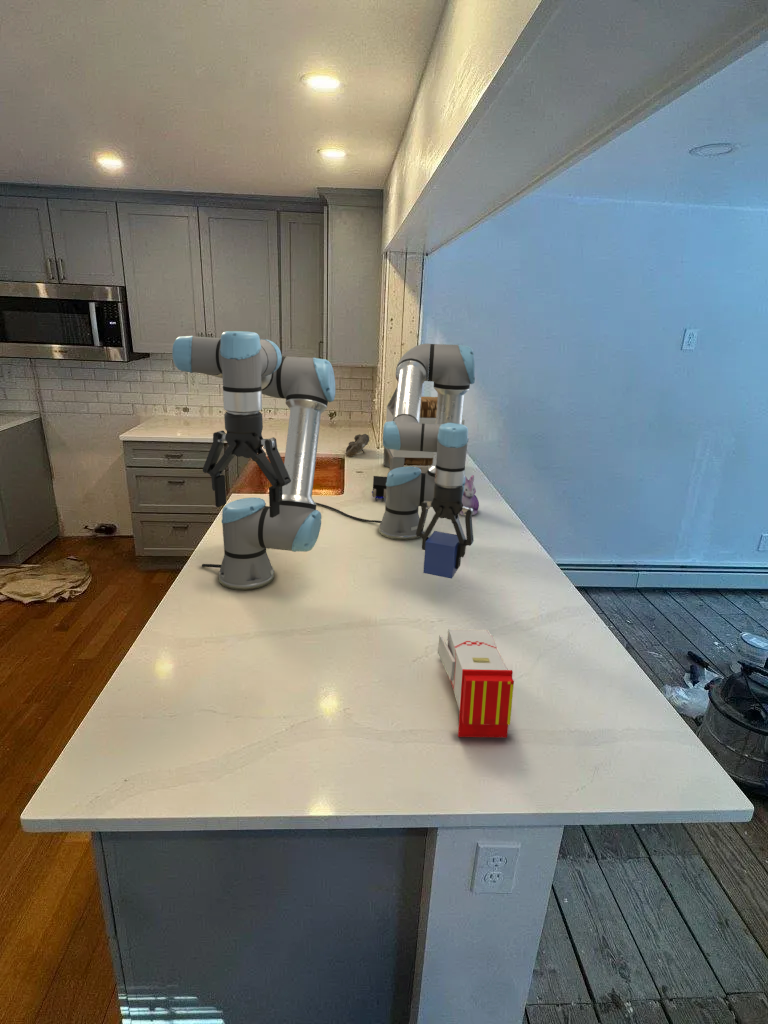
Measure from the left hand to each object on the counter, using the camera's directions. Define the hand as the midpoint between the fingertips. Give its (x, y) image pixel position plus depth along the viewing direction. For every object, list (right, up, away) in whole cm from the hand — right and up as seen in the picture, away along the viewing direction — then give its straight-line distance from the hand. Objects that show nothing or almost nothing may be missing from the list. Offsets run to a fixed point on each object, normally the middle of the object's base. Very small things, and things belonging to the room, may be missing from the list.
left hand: (247, 510), depth 122 cm
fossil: (+15, +32, +185) cm, 189 cm away
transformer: (+47, +19, +153) cm, 161 cm away
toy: (+47, -38, -3) cm, 61 cm away
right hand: (+45, -14, +33) cm, 58 cm away
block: (+45, -16, +33) cm, 59 cm away
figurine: (+63, -1, +102) cm, 120 cm away
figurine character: (+28, +6, +115) cm, 119 cm away
